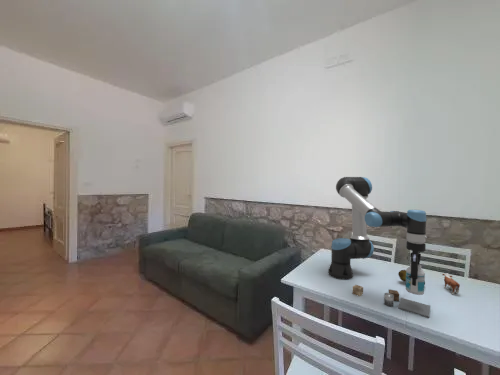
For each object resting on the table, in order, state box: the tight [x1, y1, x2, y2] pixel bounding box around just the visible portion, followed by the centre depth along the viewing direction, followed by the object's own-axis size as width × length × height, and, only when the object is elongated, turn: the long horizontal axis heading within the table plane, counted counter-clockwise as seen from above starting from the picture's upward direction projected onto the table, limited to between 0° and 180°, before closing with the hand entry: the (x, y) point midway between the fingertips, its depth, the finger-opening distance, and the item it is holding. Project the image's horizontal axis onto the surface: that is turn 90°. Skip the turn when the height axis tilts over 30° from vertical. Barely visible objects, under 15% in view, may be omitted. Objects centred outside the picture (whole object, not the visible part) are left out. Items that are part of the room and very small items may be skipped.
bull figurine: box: [441, 272, 460, 295], centre depth 132 cm, size 4×13×8 cm, turn 161°
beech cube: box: [351, 284, 364, 297], centre depth 127 cm, size 4×4×4 cm
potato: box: [397, 269, 426, 286], centre depth 139 cm, size 8×13×8 cm, turn 43°
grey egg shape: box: [383, 292, 395, 308], centre depth 116 cm, size 4×4×5 cm
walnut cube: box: [388, 289, 400, 302], centre depth 121 cm, size 4×4×4 cm
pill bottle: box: [405, 262, 426, 296], centre depth 113 cm, size 8×7×14 cm
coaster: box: [397, 297, 431, 319], centre depth 113 cm, size 12×12×1 cm
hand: (414, 288), depth 113 cm, fingers closed on pill bottle, 7 cm apart
